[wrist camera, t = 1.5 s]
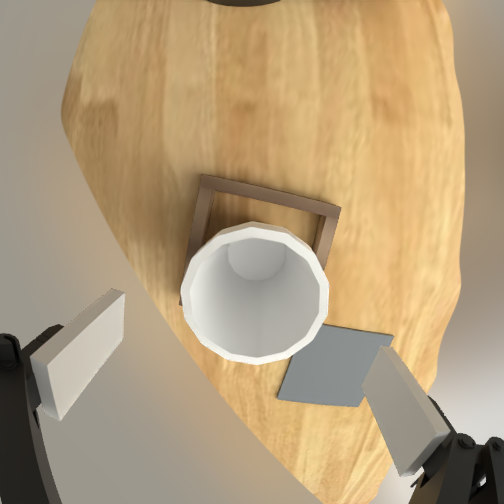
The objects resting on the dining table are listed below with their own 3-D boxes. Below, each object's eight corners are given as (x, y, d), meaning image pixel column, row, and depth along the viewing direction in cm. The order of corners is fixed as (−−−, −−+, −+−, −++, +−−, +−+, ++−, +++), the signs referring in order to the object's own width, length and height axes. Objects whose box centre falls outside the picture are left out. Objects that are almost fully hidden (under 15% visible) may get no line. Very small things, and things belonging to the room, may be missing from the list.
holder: (206, 174, 29) (202, 174, 27) (335, 205, 29) (341, 207, 27) (184, 296, 32) (178, 305, 30) (301, 321, 33) (304, 332, 30)
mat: (304, 320, 33) (304, 322, 32) (392, 335, 33) (393, 336, 33) (276, 397, 36) (276, 399, 35) (357, 405, 36) (358, 407, 35)
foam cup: (226, 302, 32) (207, 374, 20) (200, 221, 30) (160, 252, 18) (310, 281, 31) (340, 344, 19) (290, 197, 29) (312, 210, 17)
